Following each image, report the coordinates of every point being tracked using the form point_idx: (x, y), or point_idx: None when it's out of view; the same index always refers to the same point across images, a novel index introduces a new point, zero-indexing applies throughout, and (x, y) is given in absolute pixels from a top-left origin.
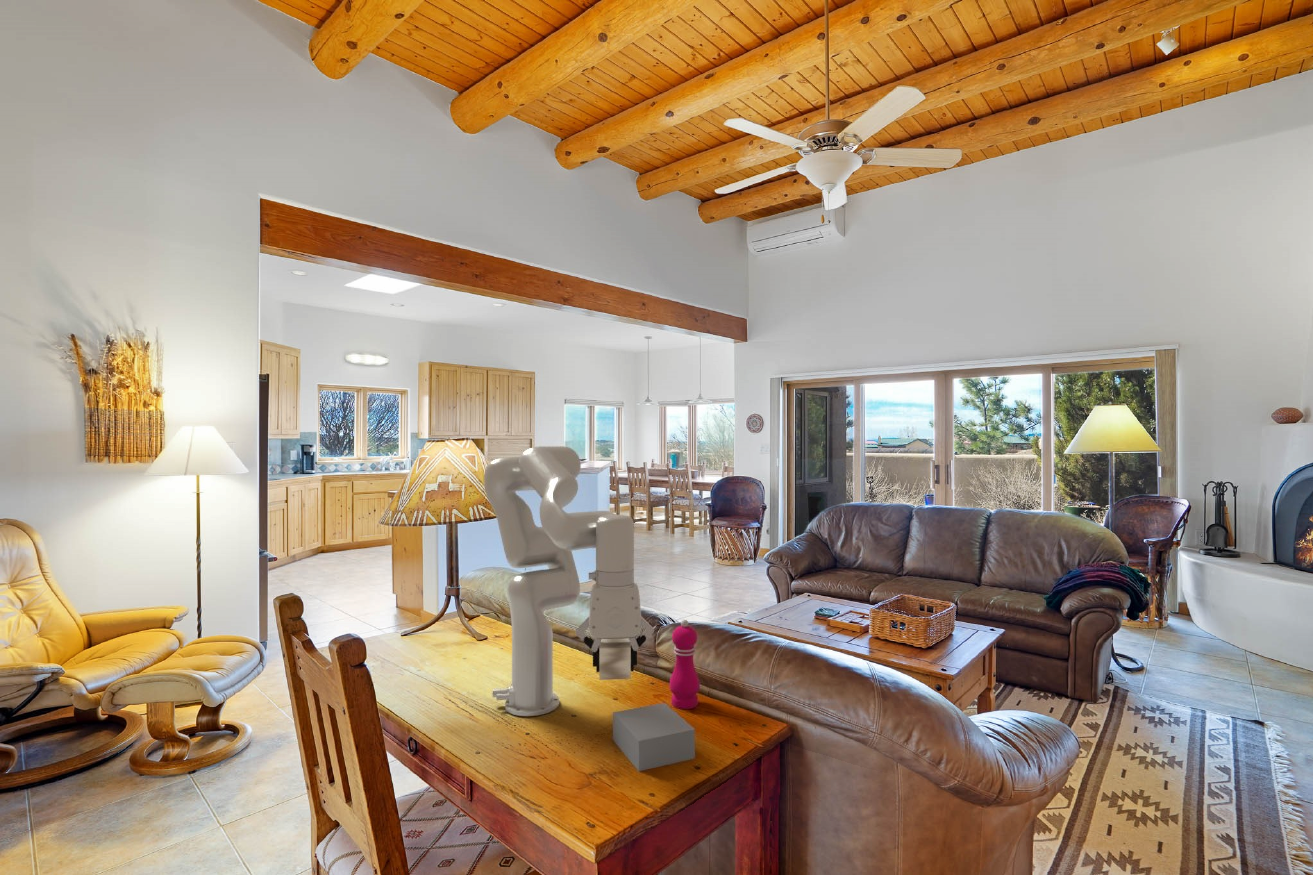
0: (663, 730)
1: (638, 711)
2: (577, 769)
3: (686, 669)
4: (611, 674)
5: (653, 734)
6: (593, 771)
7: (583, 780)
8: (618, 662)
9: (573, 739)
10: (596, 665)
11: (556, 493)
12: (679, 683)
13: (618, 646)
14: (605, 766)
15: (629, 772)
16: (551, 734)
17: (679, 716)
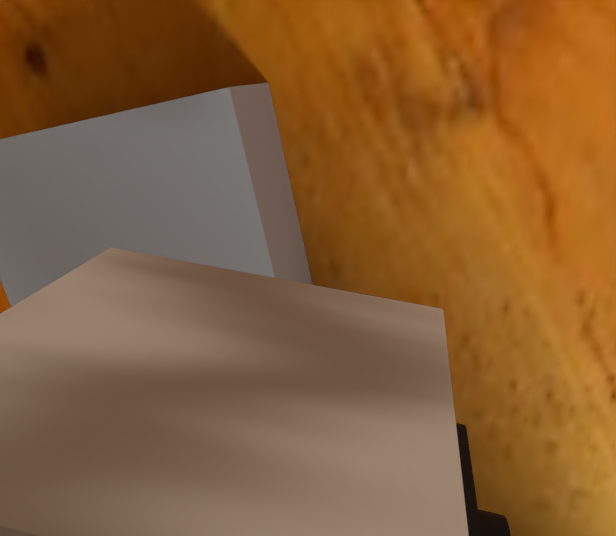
0: (94, 177)
1: None
2: (525, 160)
3: None
4: (299, 303)
5: (146, 145)
6: (459, 126)
7: (520, 56)
8: (158, 358)
9: (488, 407)
10: (471, 473)
11: None
12: None
13: None
14: (399, 156)
15: (307, 81)
16: (570, 471)
17: (11, 298)
